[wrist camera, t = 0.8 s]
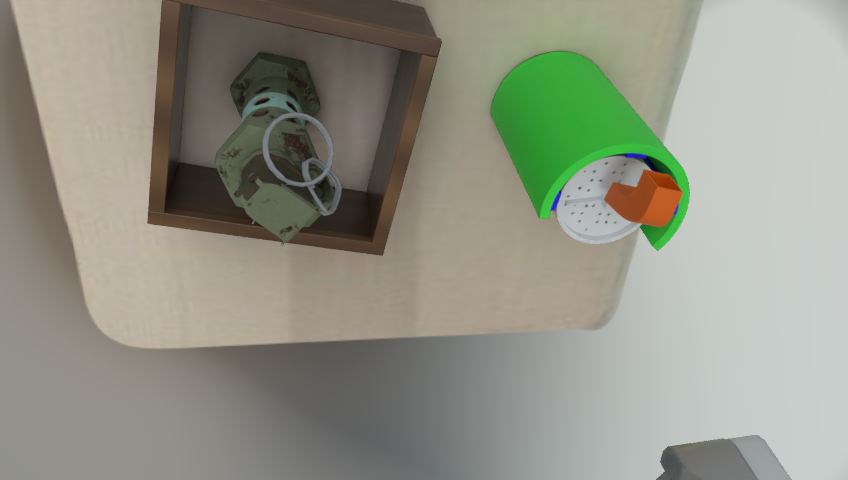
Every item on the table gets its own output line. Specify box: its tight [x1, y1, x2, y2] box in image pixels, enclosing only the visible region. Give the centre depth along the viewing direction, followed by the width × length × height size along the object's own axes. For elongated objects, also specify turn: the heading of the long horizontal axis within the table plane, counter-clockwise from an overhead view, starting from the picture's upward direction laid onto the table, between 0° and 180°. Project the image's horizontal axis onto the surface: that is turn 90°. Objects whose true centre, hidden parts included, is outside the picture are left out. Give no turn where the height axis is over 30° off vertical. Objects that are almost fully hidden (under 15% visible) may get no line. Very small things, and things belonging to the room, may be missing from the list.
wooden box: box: [147, 0, 442, 255], centre depth 48 cm, size 16×16×7 cm
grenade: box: [214, 53, 342, 245], centre depth 45 cm, size 7×7×15 cm
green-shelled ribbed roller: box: [491, 52, 690, 251], centre depth 47 cm, size 9×8×18 cm
